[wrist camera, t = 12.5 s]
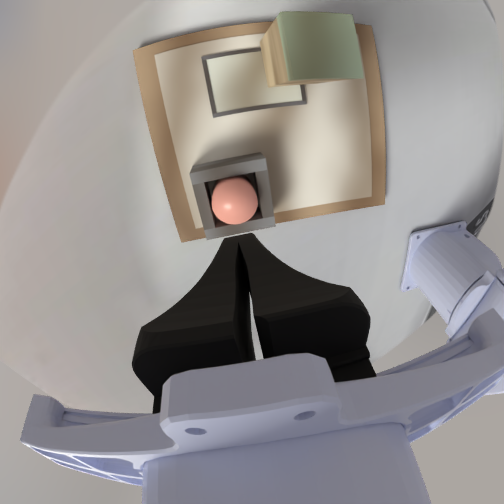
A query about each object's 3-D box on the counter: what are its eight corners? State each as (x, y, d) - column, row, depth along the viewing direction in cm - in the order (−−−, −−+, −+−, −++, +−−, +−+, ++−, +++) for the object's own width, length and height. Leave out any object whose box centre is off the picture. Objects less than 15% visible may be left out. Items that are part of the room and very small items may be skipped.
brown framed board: (367, 27, 14) (387, 20, 12) (381, 201, 23) (398, 215, 20) (135, 51, 14) (121, 44, 11) (182, 239, 22) (178, 258, 20)
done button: (249, 168, 19) (253, 177, 17) (256, 205, 21) (260, 219, 18) (208, 176, 19) (207, 187, 17) (217, 213, 21) (217, 228, 18)
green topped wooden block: (309, 39, 14) (352, 14, 8) (317, 83, 16) (363, 78, 10) (259, 42, 14) (280, 11, 8) (268, 87, 16) (293, 79, 10)
